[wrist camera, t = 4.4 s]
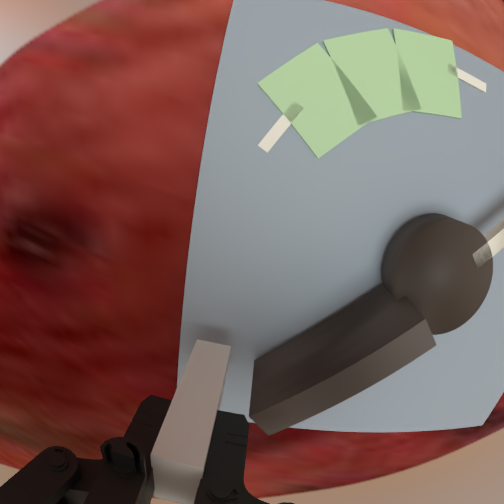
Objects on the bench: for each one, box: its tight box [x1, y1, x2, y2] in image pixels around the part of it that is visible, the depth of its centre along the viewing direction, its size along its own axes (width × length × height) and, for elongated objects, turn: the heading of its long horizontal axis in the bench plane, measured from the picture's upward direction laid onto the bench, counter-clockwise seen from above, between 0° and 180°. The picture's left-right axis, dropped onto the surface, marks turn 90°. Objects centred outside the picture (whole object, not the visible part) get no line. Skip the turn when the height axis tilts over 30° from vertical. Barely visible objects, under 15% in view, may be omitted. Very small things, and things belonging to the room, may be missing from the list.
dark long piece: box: [249, 213, 504, 435], centre depth 11 cm, size 21×5×4 cm, turn 125°
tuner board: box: [177, 0, 504, 432], centre depth 14 cm, size 22×22×2 cm
